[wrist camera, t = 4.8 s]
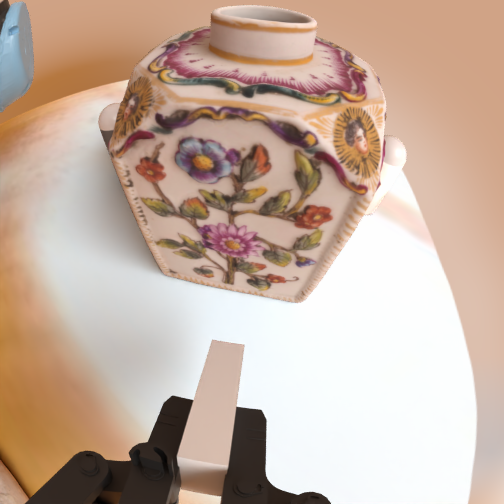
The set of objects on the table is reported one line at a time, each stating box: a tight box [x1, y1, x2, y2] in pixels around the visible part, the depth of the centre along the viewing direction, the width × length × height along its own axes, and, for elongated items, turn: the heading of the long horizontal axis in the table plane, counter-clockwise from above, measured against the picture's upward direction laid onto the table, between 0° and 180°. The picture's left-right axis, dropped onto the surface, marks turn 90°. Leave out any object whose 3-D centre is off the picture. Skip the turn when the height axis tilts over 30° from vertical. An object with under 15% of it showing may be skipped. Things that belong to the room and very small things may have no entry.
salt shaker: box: [364, 135, 407, 215], centre depth 23 cm, size 3×3×9 cm
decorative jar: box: [108, 5, 386, 303], centre depth 17 cm, size 12×12×18 cm
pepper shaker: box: [98, 103, 121, 168], centre depth 23 cm, size 3×3×9 cm
